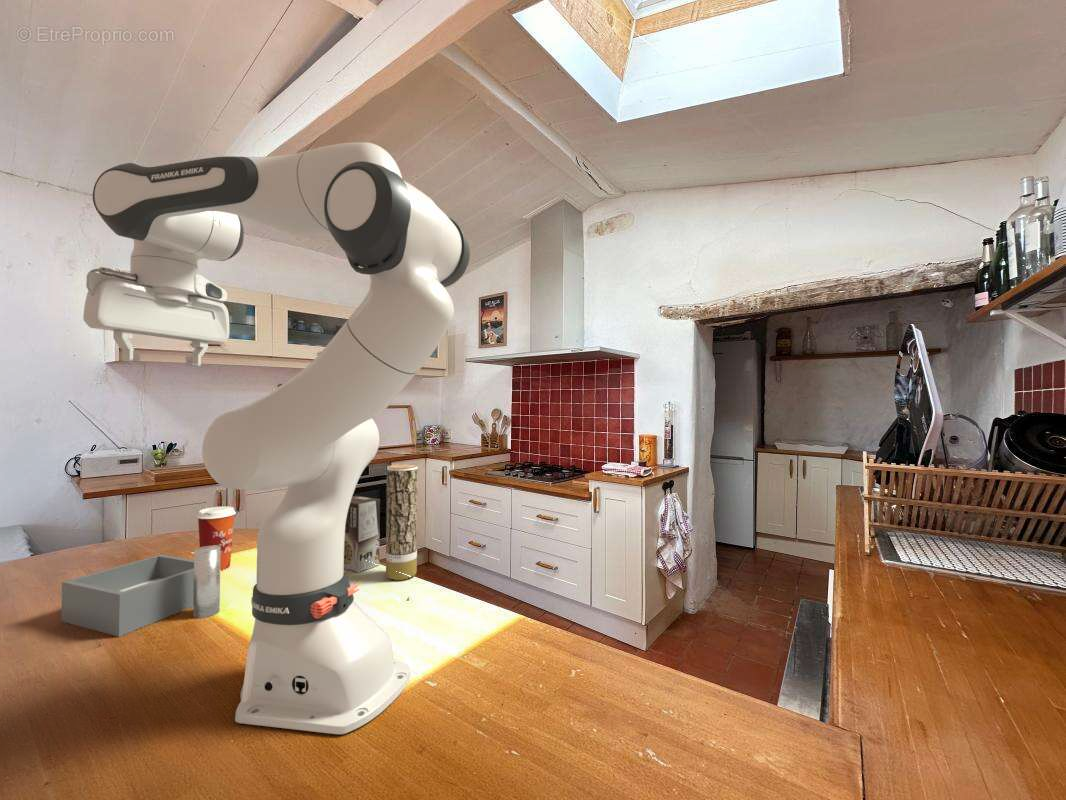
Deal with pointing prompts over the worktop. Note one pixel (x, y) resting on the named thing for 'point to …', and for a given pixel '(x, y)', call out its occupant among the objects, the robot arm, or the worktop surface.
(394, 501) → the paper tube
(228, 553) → the paper cup
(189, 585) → the box
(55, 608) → the worktop surface
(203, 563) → the peg
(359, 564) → the coffee box
